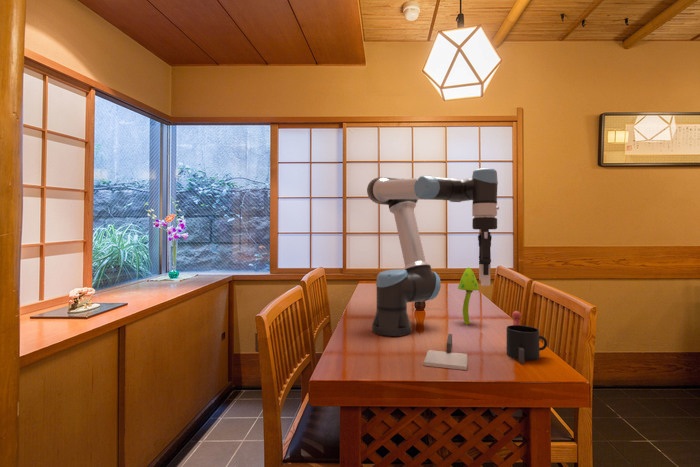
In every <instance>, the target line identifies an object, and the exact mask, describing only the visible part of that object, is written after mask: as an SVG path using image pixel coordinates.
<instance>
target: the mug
mask: <svg viewBox="0 0 700 467" xmlns="http://www.w3.org/2000/svg"><path fill="white" fill-rule="evenodd" d="M540 340H542V341H543V343H544V344H543V346H542V347H541V346H540ZM547 346H548V340H547V339H546V338H545V337H544V336H542V335H540V329H539V328H536V327H534V326H529V325H521V324H520V325H508V326H506V355H507V357H509V358H511V359H514V360H517V361H519V360H518V347H523V349H524V362H535V361H536V362H537V361H538V360H539V359H540V351H543V350H545V349H546V348H547Z"/></svg>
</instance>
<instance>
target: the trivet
mask: <svg viewBox="0 0 700 467" xmlns="http://www.w3.org/2000/svg"><path fill="white" fill-rule="evenodd" d="M423 366H424V367H426V366H427V367H435V368H444V369H453V370H461V371H468V353H464V352H463V353H462V352H452V351H451V353H447V351H441V350H431V349H428V350H427V352H426V356H425V358H424V361H423Z"/></svg>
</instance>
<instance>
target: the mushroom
mask: <svg viewBox="0 0 700 467" xmlns="http://www.w3.org/2000/svg"><path fill="white" fill-rule="evenodd" d="M457 287H458V288H457V289H458V290H462V291H465V296H464V300H463V305H462V318H463V321H464V324H465V325H468V324H469V325H471V322H470V315H469V306H470V304H469V303H470V300H471V295H472V293H473V292H474V291H479V290H480V287H479V283H478V280H477V277H476V276H475V273H474V271H473V270H472V268H470V267H469V266H468V267H467V268H466V269H465V270H464V272H463V273H462V275H461V278H460V281H459V284H458V286H457Z"/></svg>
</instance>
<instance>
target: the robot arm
mask: <svg viewBox="0 0 700 467" xmlns="http://www.w3.org/2000/svg"><path fill="white" fill-rule="evenodd" d="M498 184H499V181H498V172H497V170H496V169H494V168H487V167H486V168H485V167H484V168H477V169H474V170H473V171H472V176H471V177H469V178H460V179H459V178H452V177H451V178H450V177H441V176H440V177H439V176H432V175H421V176H419V177H414V178H413V177H412V178H395V177H393V178H392V177H383V176H381V177H376V178H373V179H371V180H370V182H369V183H368V184H367V187H366V193H367V196H368V198H369V199H370V201H372V202H373V203H375V204H378V205H385V206H388V210H389V212H390V213H391V214H393V216H394V221H395V226H396V229H397V234H398V240H399V244H400V248H401V252H402V258H403V262H404V267H403V269H401V268H399V269H398V268H397V269H387V270H383V271H380V272H379V273H378V274H377V275H376V283H375V285H376V310H375V315H374V318H373V321H372V324H371V331H372V332H373V333H375V334H377V335H381V336H389V337H390V336H393V337H396V336H406V335H409V334H411V333H412V324H411V320H410V318H409V314H408V307H407V306H408V303H417V302H427V301H432V300H434V299H436V298H437V296H438V295H439V293H440V291H441V286H442V285H441V284H442V283H441V278H440V276H439V274H437V272H435V271H433V270H432V266H431V264H430V263H428V262H427V261H426V258H425V253H424V250H423V249H424V248H423V244H422V241H421V236H420V233H419V227H418V224H417V219H416V215H415V210H414V209H415V208H416V206H417V204H418V200H435V201H437V200H438V201H448V202H451V203H461V202H469V201H472V205H471V206H472V209H471V212H472V217H473V218H472V229H473V230H480V231H479V233H478V235H477V240H478V247H479V252H478V254H479V255H478V265H479V266H478V269H479V270H478V274H479V275H478V278H479V279H478V280H479V281H480V286H481V287H482V286H483V287H491V262H492V259H491V258H492V257H491V253H492V252H491V247H492V234H491V232H490V230H496V229H498V218H497V216H498V210H500V207H499V206H498Z"/></svg>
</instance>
